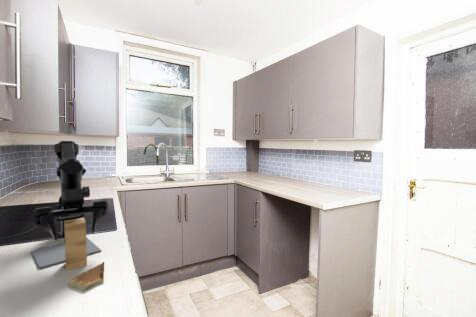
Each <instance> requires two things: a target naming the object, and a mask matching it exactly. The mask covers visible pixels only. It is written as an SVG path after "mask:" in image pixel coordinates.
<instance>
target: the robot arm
mask: <svg viewBox="0 0 476 317" xmlns="http://www.w3.org/2000/svg"><path fill="white" fill-rule="evenodd" d="M53 146H54V156H56V161H57V162H58V166H57V167H56V178H59V181H60V196H59V199H58V205H56V209H55V210H52V206H44V207H43V206H42V207H37V208H35V210H34V211H33V212H34V214H33V215H34V216H33V217H34V224H35V225H34V226H40V227H41V228H46V230H48V232H49V233H50V235H51V237H52V238H53V239H54V241H57V240H58V236H57V235H58V234H59V235H60V237H61V238H65V229H64V221H65V220H72V219H79V218H85V214H89V213H92V217H91V233H92V235H93V234H95V230H96V227H97V223H98V222H99V219H101V218H103V216H106V215H107V213H108V212H107V211H108V208H109V207H108V202H107V201H106V200H104V199H103V200H96V201H93V202H92V205H90V206H85V198H90V196H91V190H90V189H91V188H90V186H89V185H88V186H82V180H83V176H84V175H85V174H86V173H87V170H86V168H85V167H84V166H83V165H82V163H81V161H80V160H78V159H77V157H78V156H79V154H80V153H79V152H80V151H79V150H80V149H79V144H78V143H75V141H72V140H61V141H59V142H58V143H55V144H54V145H53ZM54 218H56V222H61V224H60V227H61V231H59V232H58V234H57V230H56V224H55V220H54Z"/></svg>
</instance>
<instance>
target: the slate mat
mask: <svg viewBox="0 0 476 317" xmlns="http://www.w3.org/2000/svg"><path fill="white" fill-rule="evenodd" d="M86 247H87V256H89V255H93V254H96V253H97V254H98V253H101V252H102V249H101V248H99V246H97V245H96V244H95V243H94V242H92V241H91V239H89V237H87V236H86ZM30 252H31V254H32V257H33V258H34V260H35V262H36V264H37V267H38V269H39V270H42V269H45V268H48V267H51V266H52V267H53V266H54V265H55V266H56V265H58V264H61V263H66V260H65V241H64V242H61V243H57V244H52V245H48V246H44V247H40V248H37V249H36V248H35V249H32V250H31V251H30Z"/></svg>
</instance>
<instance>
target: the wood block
mask: <svg viewBox="0 0 476 317" xmlns="http://www.w3.org/2000/svg"><path fill="white" fill-rule="evenodd" d="M64 229H65V237H64V242H65V260H66V262H65V269H66V270H65V271H68V270H73V269H77V268H79V267H80V268H81V267H85V266H88V258H87V256H88V255H87V247H86V237H87V222H86V219H85V217H83V218H79V219H72V220H65V221H64Z"/></svg>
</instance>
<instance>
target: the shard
mask: <svg viewBox="0 0 476 317" xmlns="http://www.w3.org/2000/svg"><path fill="white" fill-rule="evenodd" d="M104 278H105V262H104V261H103V262H102V263H100V264H98V265H96V266H94V267H91V268H90V269H87V270H86V271H84V272H82V273H81V274H78V275H76V276H74V277H73V278H71V279H70V280H68V281H67V282H68V283H67V285H68V286H71V287H74V288H78V289H80V290H82V291H83V290H86V289H88V288H90V287H92V286H96V285H99V284H102V283H104V281H105V279H104Z"/></svg>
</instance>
